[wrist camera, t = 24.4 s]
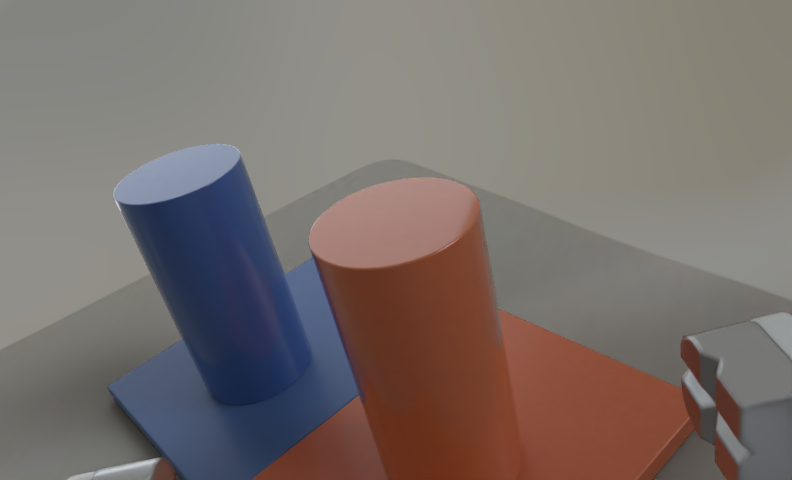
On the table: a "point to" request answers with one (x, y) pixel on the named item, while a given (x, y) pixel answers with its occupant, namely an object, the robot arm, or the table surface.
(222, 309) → the blue canister
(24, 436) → the table surface
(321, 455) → the board
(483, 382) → the terracotta canister
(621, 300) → the table surface
